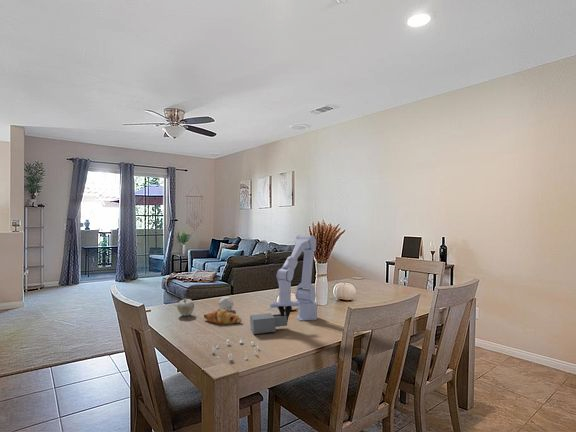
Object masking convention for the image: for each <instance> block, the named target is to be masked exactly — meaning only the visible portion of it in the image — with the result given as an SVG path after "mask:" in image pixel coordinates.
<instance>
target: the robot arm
mask: <svg viewBox="0 0 576 432" xmlns="http://www.w3.org/2000/svg"><path fill="white" fill-rule="evenodd" d="M294 244H295V246H294V247H293V250H292V253H291V255H290V256H287V258H286V260H285V261H284V263H283V265H282V266H281V268H279V269H278V270H277V272H276V275H275V276H276V279H277V283H278V301H276V302H270V303H269V308H270V309H273V308H278V311H279V314H281V316H284V314H285V315H286V316H287V323H288V321H289V318H290V315H291V312H292V309H293V307H298V315H296V318H297V319H299V321H302V322H303V321H314V320H318V306H317V302H316V299H317V298H316V296H317V294H316V287H315V285H313V284H312V278H313V277H312V276H313V275H312V274H313V265H314V264H313V263H314V254H315V253H314V252H316V251H317V239H316V237H315V236H314V235H301V234H297V236H296V237H295V239H294ZM302 253H303V262H302V263H303V264H302V272H301V282H300V283H299V284H298V285H297V286H296V290H295V293H294V296H295V299H296V300H297V301H294V300H293V301H292V295H291V292H292V291H291V290H292V280H293V279H294V275H295V274H294V273H295V269H296V267H297V265H298V263H299V262H298V258H300V256H301V255H302Z"/></svg>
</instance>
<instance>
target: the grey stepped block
mask: <svg viewBox="0 0 576 432" xmlns="http://www.w3.org/2000/svg"><path fill="white" fill-rule="evenodd" d="M249 319H250V321H249V322H250V325H249V326H250V330H251V332H252V333H253V334H254V335H256V334H258V335H259V334H266V333H273V332H276V328H277V327H278V328H279V327H287V326H288V322H287V316H286V315H285V314H284V316H281V314H280V313H276V314H275V313H273V314H272V313H270V312H269V313H260V314H259V313H258V314H250V315H249Z"/></svg>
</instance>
